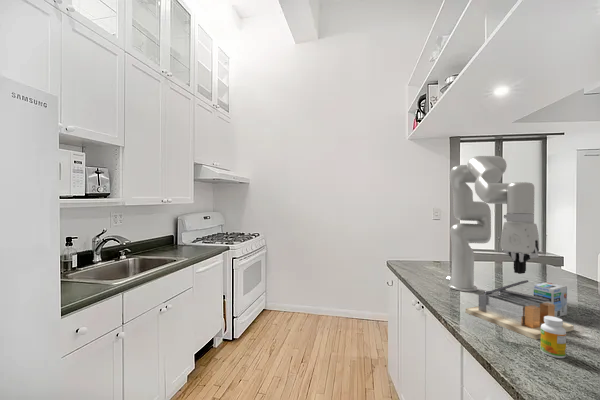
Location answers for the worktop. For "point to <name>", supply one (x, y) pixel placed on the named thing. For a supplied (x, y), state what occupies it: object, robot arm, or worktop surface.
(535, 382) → the worktop surface
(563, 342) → the supplement bottle
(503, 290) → the strap
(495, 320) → the board
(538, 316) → the grey and orange fixture
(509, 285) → the strap
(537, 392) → the worktop surface
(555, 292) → the light bulb box
